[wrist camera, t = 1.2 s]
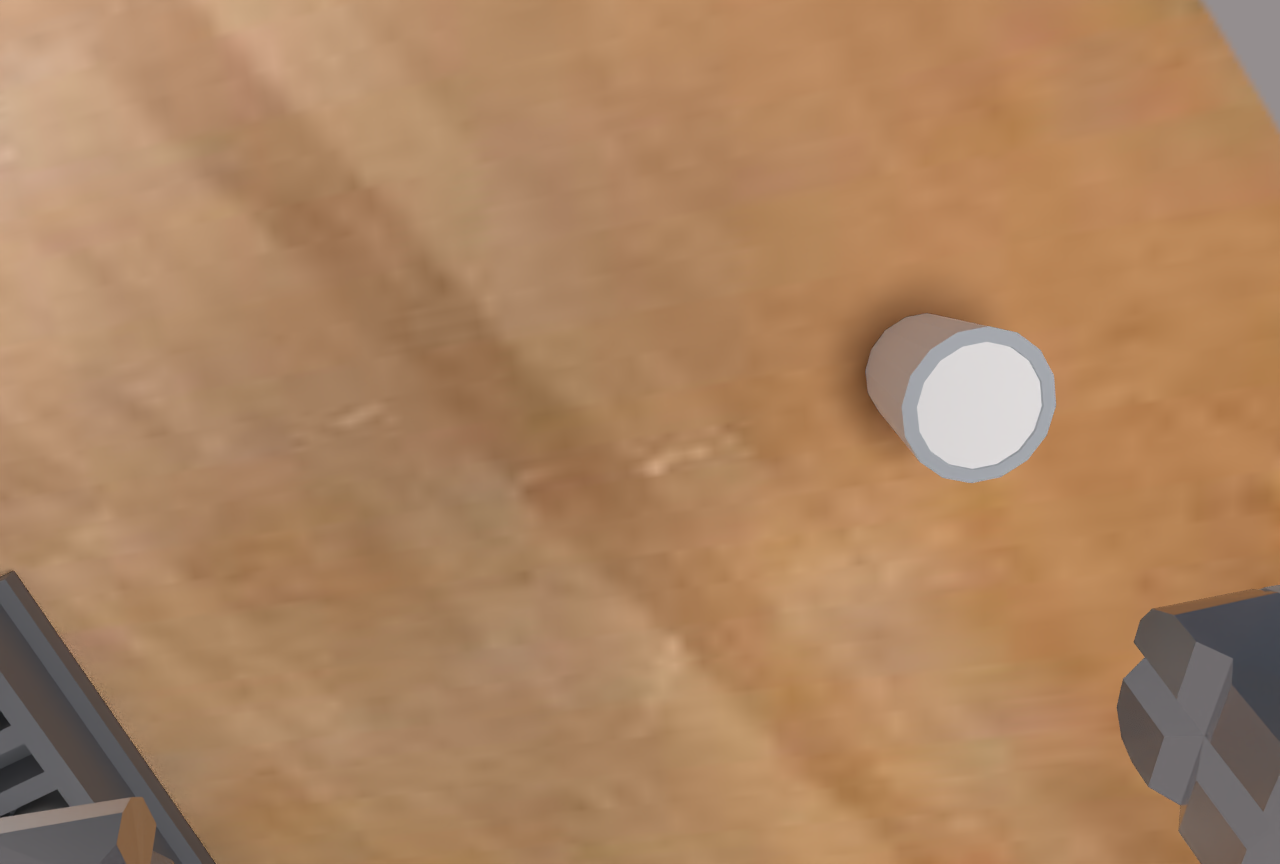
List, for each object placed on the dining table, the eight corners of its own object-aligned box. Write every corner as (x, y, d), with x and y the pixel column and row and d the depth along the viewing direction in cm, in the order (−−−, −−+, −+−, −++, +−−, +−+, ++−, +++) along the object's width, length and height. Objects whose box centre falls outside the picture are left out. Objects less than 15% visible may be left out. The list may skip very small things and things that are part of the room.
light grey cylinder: (982, 439, 57) (1047, 483, 51) (847, 440, 56) (895, 485, 50) (997, 300, 56) (1067, 327, 49) (858, 299, 55) (910, 326, 48)
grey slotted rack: (262, 932, 60) (247, 989, 56) (121, 999, 60) (96, 1060, 56) (13, 570, 53) (-24, 606, 49) (-145, 646, 53) (-194, 687, 49)
